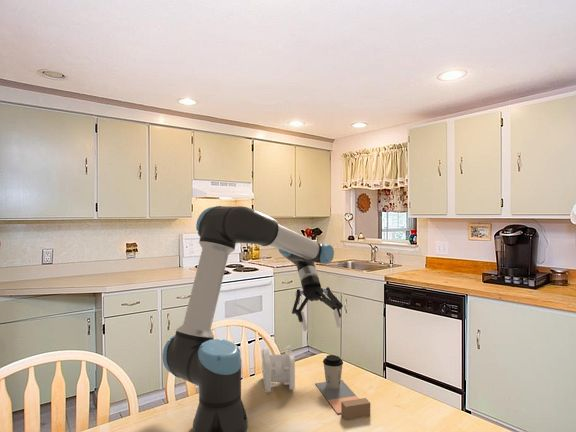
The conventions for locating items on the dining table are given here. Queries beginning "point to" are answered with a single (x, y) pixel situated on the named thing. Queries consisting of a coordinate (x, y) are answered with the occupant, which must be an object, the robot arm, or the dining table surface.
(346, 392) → the runner
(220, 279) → the robot arm
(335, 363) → the coffee cup
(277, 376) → the cable organizer
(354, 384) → the dining table surface
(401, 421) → the dining table surface
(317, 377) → the dining table surface
